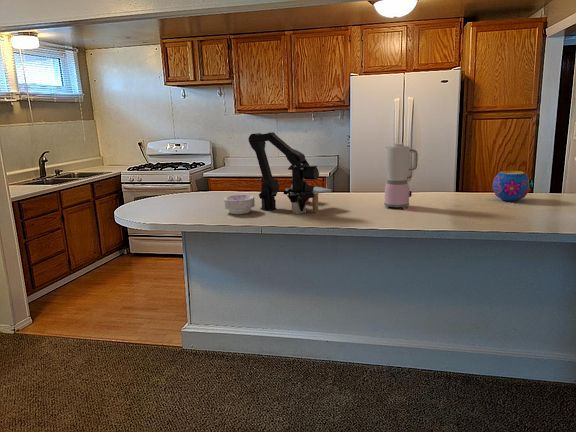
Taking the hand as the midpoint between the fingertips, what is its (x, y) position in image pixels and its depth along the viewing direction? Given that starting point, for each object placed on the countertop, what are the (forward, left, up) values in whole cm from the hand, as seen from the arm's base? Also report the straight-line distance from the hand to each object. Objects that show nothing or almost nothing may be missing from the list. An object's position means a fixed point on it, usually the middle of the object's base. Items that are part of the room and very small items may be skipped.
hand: (298, 210), depth 220 cm
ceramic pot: (+101, -50, -1) cm, 113 cm away
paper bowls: (-23, +19, -1) cm, 30 cm away
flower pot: (+15, +19, -1) cm, 24 cm away
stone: (0, 0, -1) cm, 1 cm away
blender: (+46, -24, -1) cm, 52 cm away
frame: (+6, +1, -1) cm, 6 cm away
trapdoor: (+11, +1, +6) cm, 12 cm away
